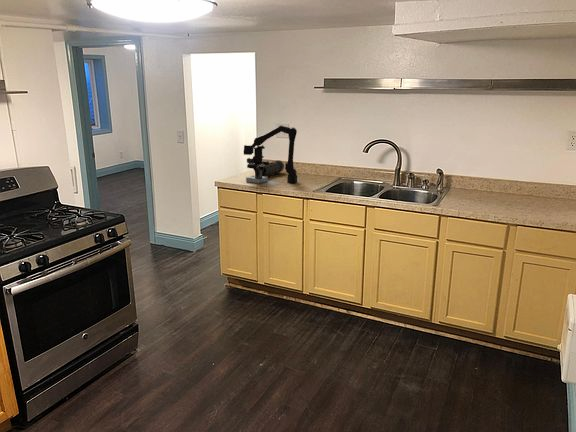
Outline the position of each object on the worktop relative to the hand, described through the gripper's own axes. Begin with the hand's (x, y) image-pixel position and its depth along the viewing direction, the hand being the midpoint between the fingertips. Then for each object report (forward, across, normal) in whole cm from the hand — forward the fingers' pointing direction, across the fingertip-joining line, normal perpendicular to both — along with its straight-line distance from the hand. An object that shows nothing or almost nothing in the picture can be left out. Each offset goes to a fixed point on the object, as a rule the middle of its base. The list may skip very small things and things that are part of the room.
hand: (258, 176), depth 342 cm
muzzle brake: (+5, -28, -10) cm, 30 cm away
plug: (+2, 0, 0) cm, 2 cm away
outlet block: (+5, 0, -2) cm, 5 cm away
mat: (+5, -3, +10) cm, 11 cm away
